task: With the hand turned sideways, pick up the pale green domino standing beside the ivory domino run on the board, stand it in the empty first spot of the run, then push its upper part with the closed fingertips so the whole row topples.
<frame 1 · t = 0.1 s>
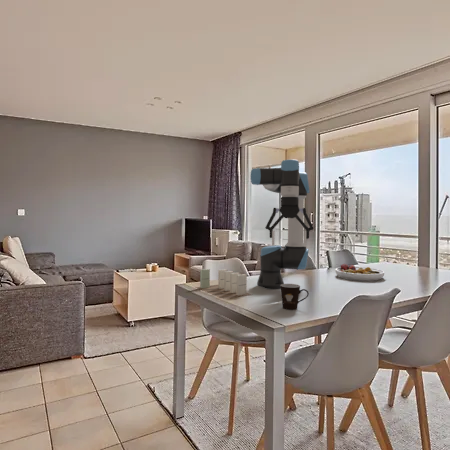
hand: (289, 246, 158), 28 cm above the table, tool pointing down, fingers open, 13 cm apart
coffee mug: (292, 308, 163), on the table
bowl: (359, 278, 241), on the table
board: (222, 292, 194), on the table
domino 5: (241, 294, 186), point 1 cm above the table, touching board
domino 3: (228, 290, 196), point 1 cm above the table, touching board
domino 4: (235, 292, 191), point 1 cm above the table, touching board
domino 2: (223, 288, 201), point 1 cm above the table, touching board
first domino: (204, 287, 202), point 1 cm above the table, touching board
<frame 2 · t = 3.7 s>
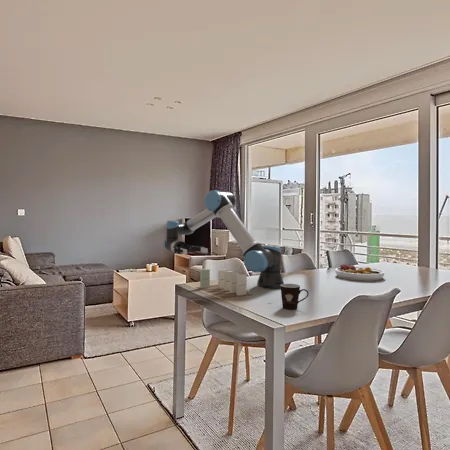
hand: (197, 251, 207), 20 cm above the table, tool horizontal, fingers open, 13 cm apart
nothing on the table moved.
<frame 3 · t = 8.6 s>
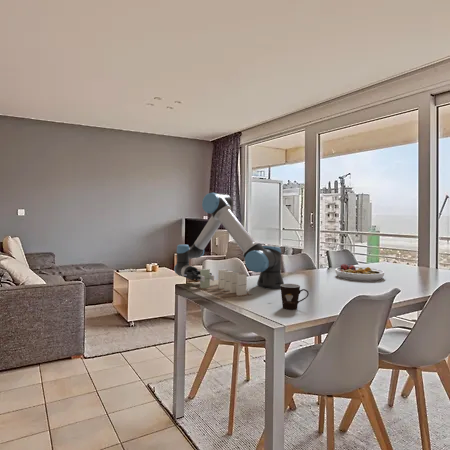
hand: (208, 278, 198), 6 cm above the table, tool horizontal, fingers closed on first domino, 5 cm apart
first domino: (204, 287, 202), point 1 cm above the table, touching board, gripper
everything else where it was.
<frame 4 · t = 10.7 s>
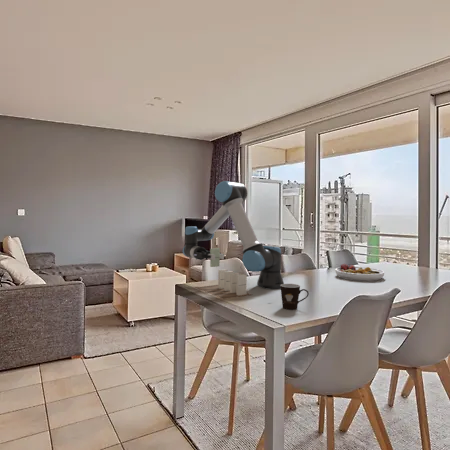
hand: (219, 257, 201), 18 cm above the table, tool horizontal, fingers closed on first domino, 5 cm apart
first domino: (214, 266, 205), point 12 cm above the table, touching gripper
everything else where it was.
when the fingers open (7 cm above the table, at t = 13.2 s): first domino stays where it is, resting on board.
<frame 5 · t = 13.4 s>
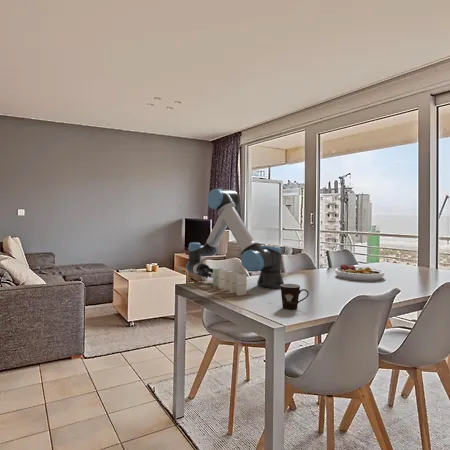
hand: (221, 275, 203), 7 cm above the table, tool horizontal, fingers open, 8 cm apart
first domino: (217, 286, 206), point 1 cm above the table, touching board
everything else where it was.
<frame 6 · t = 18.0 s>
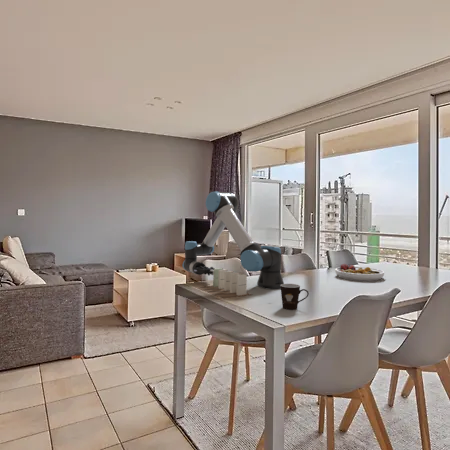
hand: (216, 273, 206), 8 cm above the table, tool horizontal, fingers closed
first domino: (217, 286, 206), point 1 cm above the table, tilted 7°, touching board, gripper
everything else where it was.
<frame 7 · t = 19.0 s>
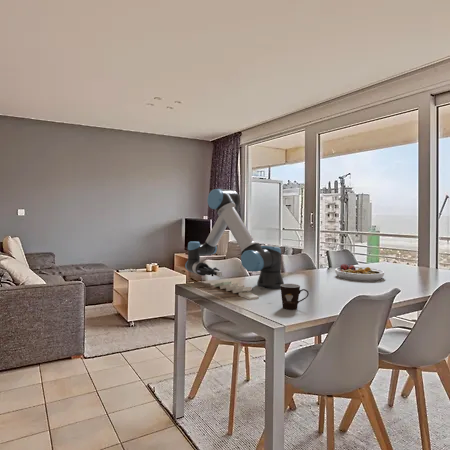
hand: (220, 274, 203), 8 cm above the table, tool horizontal, fingers closed
domino 5: (242, 293, 185), point 2 cm above the table, tilted 94°, touching board, domino 4
domino 3: (230, 289, 195), point 2 cm above the table, tilted 74°, touching board, domino 2, domino 4
domino 4: (236, 291, 189), point 2 cm above the table, tilted 72°, touching board, domino 3, domino 5
domino 2: (223, 287, 200), point 2 cm above the table, tilted 75°, touching board, domino 3, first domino
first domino: (218, 285, 205), point 2 cm above the table, tilted 75°, touching board, domino 2
everything else where it was.
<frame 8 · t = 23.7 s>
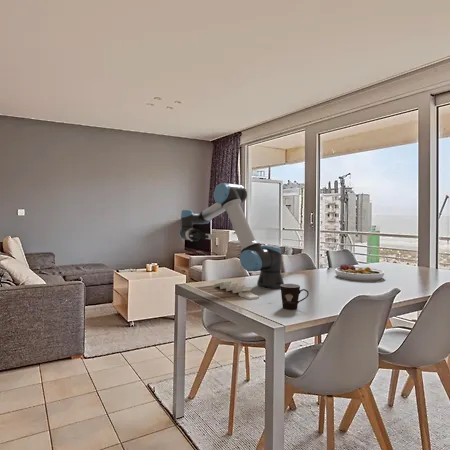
hand: (212, 237, 211), 28 cm above the table, tool horizontal, fingers closed
nothing on the table moved.
at the end: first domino inside the target area (0.3 cm from its centre), point 1.6 cm above the table; domino 3 tilted 74°; domino 5 tilted 94° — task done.
